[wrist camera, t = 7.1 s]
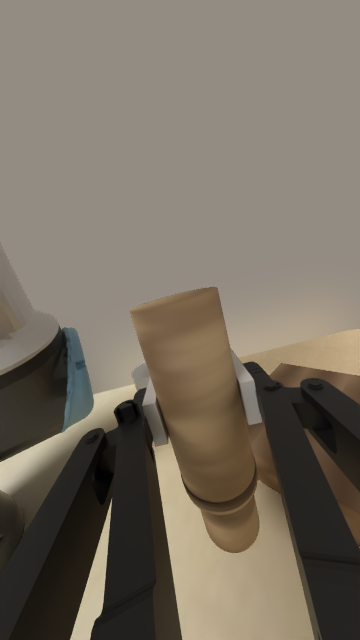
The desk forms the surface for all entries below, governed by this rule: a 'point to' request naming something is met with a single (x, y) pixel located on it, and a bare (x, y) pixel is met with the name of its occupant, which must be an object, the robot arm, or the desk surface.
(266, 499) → the desk surface
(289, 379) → the seat board
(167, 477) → the desk surface
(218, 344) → the oak leg
